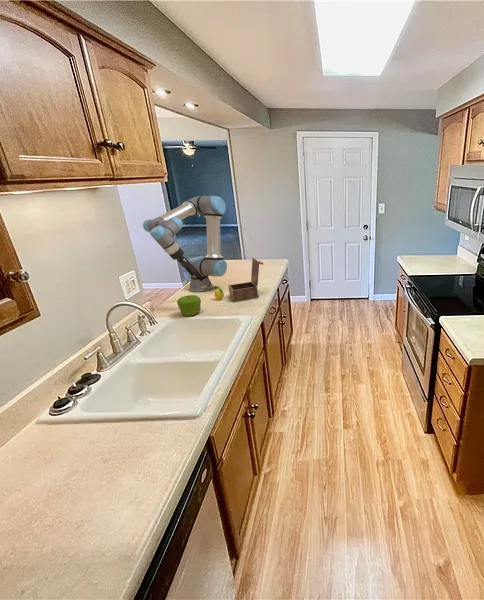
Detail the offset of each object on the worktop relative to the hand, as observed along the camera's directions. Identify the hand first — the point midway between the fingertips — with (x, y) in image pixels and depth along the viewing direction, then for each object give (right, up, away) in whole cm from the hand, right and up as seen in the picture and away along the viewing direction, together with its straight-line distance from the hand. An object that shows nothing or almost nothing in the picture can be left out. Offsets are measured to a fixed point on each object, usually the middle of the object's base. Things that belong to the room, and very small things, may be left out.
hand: (197, 277), depth 204 cm
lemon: (+9, -14, +12) cm, 21 cm away
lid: (+31, +5, +16) cm, 35 cm away
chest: (+23, -12, +17) cm, 31 cm away
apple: (+1, -22, -11) cm, 25 cm away
